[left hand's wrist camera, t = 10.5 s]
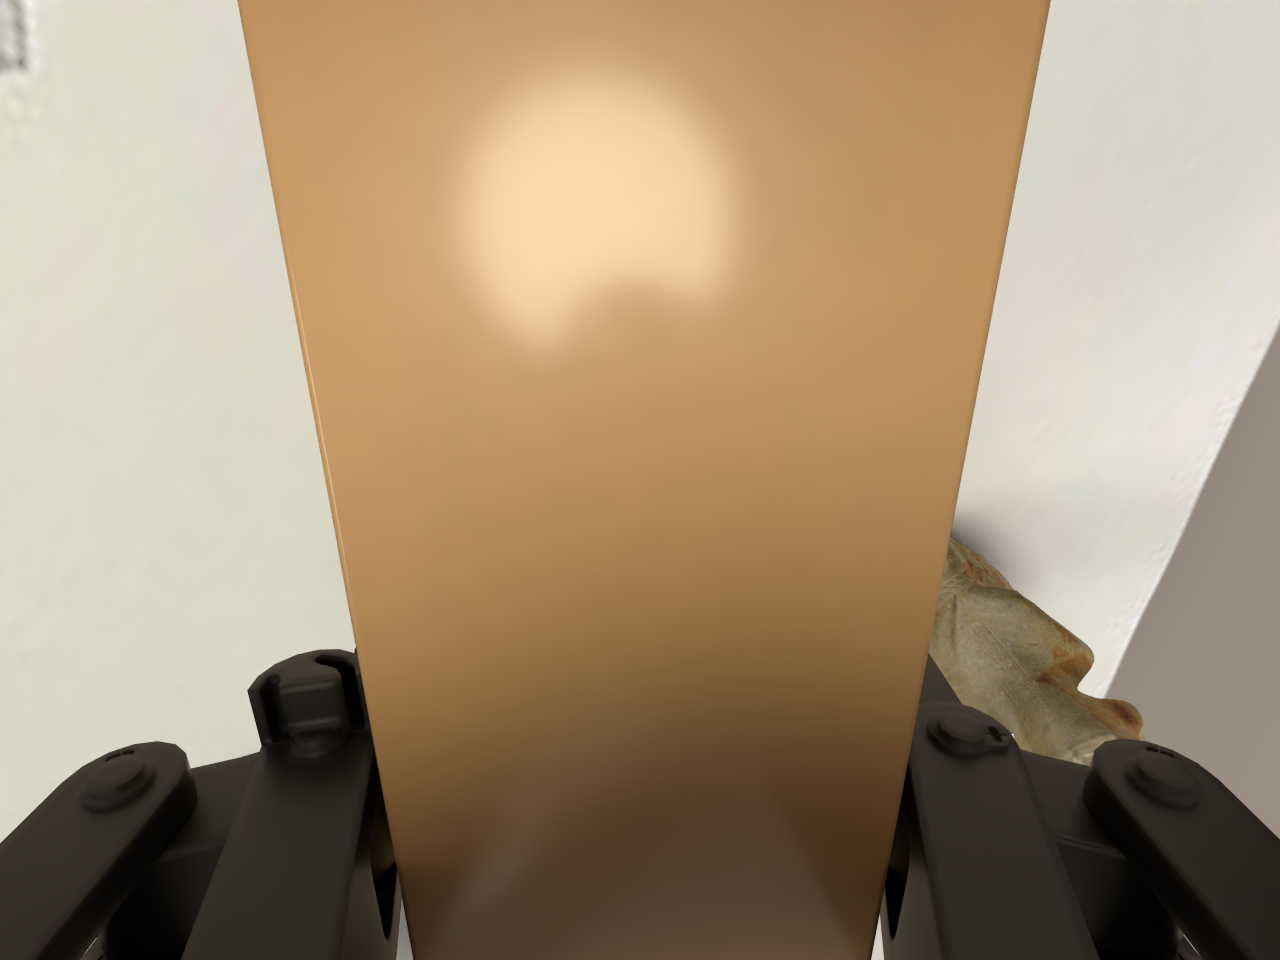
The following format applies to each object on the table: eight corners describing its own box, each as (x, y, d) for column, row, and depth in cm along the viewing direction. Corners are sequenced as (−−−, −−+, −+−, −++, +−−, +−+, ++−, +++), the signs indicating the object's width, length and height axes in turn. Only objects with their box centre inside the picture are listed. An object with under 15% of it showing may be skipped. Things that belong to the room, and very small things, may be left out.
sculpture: (926, 643, 38) (1087, 892, 25) (849, 561, 36) (976, 781, 23) (1017, 581, 37) (1242, 810, 23) (941, 491, 35) (1137, 683, 21)
